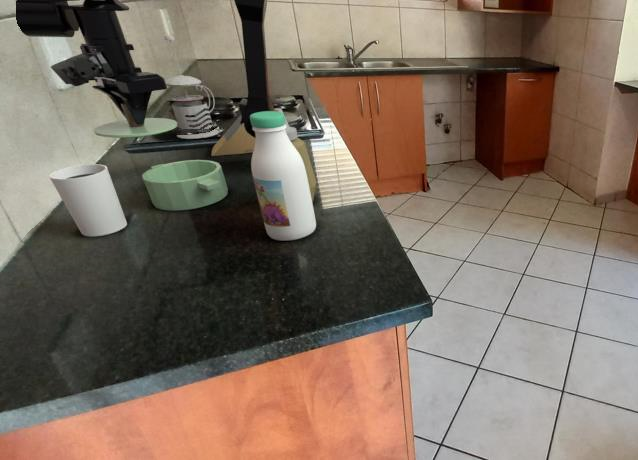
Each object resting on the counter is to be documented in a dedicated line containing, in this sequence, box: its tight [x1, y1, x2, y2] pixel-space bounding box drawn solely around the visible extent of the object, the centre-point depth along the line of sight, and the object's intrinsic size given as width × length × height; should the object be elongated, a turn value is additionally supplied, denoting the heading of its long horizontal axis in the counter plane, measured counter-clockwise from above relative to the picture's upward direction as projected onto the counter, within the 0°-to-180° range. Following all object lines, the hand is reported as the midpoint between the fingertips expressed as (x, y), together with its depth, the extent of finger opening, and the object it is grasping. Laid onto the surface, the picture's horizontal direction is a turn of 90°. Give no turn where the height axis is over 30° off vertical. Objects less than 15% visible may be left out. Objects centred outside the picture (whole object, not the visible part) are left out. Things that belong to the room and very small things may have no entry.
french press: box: [164, 34, 220, 140], centre depth 113 cm, size 10×12×25 cm
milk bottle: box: [250, 111, 317, 242], centre depth 68 cm, size 8×8×20 cm
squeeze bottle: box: [274, 107, 317, 202], centre depth 79 cm, size 8×8×18 cm
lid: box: [93, 102, 179, 139], centre depth 84 cm, size 13×13×6 cm
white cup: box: [48, 163, 128, 237], centre depth 68 cm, size 7×7×10 cm
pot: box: [141, 159, 229, 212], centre depth 81 cm, size 12×17×6 cm
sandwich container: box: [211, 114, 256, 157], centre depth 106 cm, size 9×15×15 cm, turn 118°
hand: (136, 123), depth 85 cm, fingers closed on lid, 2 cm apart
